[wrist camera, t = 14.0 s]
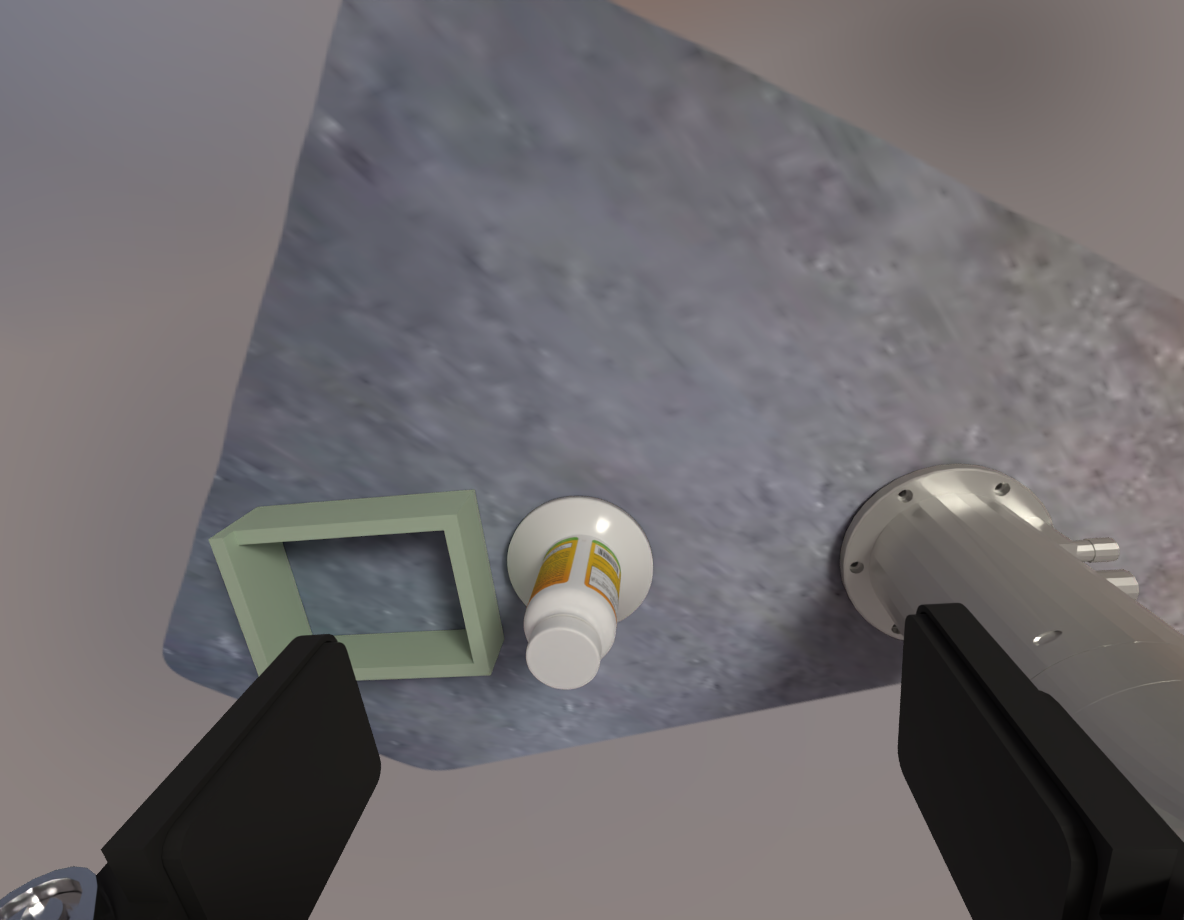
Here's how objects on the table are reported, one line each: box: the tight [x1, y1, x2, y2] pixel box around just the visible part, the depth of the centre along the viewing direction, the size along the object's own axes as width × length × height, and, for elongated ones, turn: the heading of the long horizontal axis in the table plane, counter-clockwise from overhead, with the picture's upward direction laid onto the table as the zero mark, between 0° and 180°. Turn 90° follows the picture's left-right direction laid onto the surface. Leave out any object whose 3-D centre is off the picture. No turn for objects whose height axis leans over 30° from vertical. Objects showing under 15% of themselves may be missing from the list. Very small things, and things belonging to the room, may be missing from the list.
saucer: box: [507, 496, 653, 623], centre depth 41 cm, size 10×10×1 cm
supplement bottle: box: [524, 535, 621, 689], centre depth 36 cm, size 5×5×10 cm
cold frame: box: [209, 490, 504, 680], centre depth 41 cm, size 16×12×5 cm
